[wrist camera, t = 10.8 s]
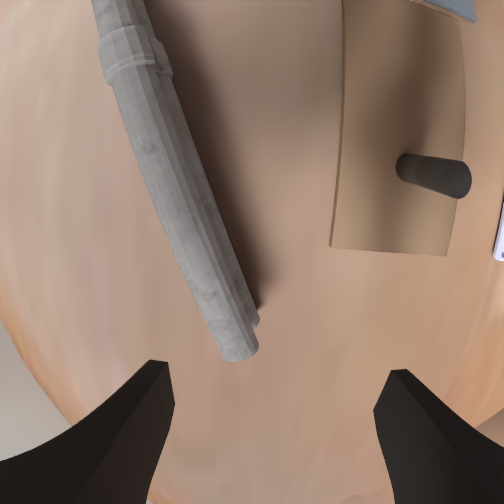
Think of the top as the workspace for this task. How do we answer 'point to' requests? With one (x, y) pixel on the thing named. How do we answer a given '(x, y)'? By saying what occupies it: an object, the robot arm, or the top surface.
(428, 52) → the post stand
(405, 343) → the top surface
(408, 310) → the top surface
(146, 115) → the metal rod assembly
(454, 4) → the rubber mat
